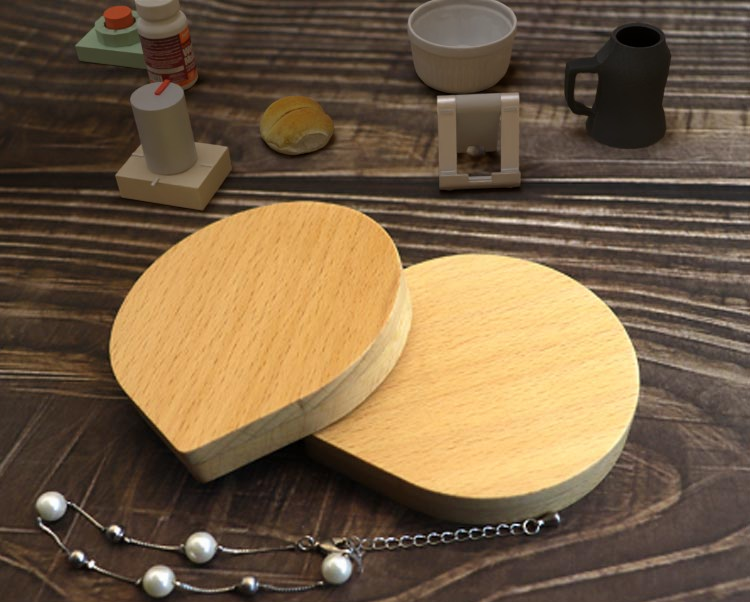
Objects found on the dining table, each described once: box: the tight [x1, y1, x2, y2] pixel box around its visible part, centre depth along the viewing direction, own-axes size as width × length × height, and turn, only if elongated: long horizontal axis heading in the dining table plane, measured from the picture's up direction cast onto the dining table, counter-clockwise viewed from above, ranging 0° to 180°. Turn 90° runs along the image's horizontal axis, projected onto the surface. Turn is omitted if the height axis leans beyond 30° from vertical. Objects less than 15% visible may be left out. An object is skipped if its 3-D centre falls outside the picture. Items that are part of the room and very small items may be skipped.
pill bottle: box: [134, 0, 199, 91], centre depth 125 cm, size 6×6×11 cm
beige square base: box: [114, 141, 233, 211], centre depth 113 cm, size 10×10×3 cm
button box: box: [74, 10, 147, 70], centre depth 134 cm, size 10×8×4 cm
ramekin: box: [407, 0, 518, 95], centre depth 124 cm, size 13×13×7 cm
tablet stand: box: [436, 91, 522, 191], centre depth 109 cm, size 9×8×8 cm
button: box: [103, 5, 134, 30], centre depth 132 cm, size 4×4×2 cm
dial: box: [129, 79, 197, 175], centre depth 109 cm, size 6×6×8 cm
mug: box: [563, 22, 672, 150], centre depth 113 cm, size 12×9×11 cm
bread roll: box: [259, 95, 335, 156], centre depth 118 cm, size 8×9×4 cm
